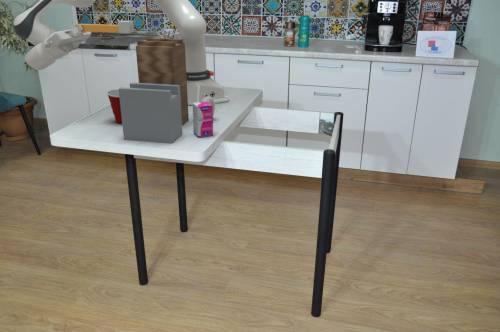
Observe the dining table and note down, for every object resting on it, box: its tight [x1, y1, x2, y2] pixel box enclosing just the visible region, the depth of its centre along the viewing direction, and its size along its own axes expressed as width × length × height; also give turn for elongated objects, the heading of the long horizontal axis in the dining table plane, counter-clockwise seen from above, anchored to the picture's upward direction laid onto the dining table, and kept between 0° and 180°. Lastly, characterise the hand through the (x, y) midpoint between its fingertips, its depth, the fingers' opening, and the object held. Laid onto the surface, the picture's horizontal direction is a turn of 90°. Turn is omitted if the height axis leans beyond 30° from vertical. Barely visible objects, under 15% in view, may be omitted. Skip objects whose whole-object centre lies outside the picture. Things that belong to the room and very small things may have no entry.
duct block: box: [118, 82, 184, 144], centre depth 166 cm, size 18×10×18 cm, turn 76°
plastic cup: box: [106, 88, 122, 125], centre depth 185 cm, size 11×11×12 cm
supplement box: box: [192, 102, 214, 139], centre depth 170 cm, size 6×6×12 cm
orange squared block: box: [74, 20, 135, 34], centre depth 176 cm, size 22×4×4 cm, turn 76°
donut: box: [201, 96, 216, 116], centre depth 185 cm, size 10×4×10 cm, turn 161°
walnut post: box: [135, 37, 190, 127], centre depth 178 cm, size 14×12×32 cm
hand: (85, 26), depth 177 cm, fingers closed on orange squared block, 2 cm apart
